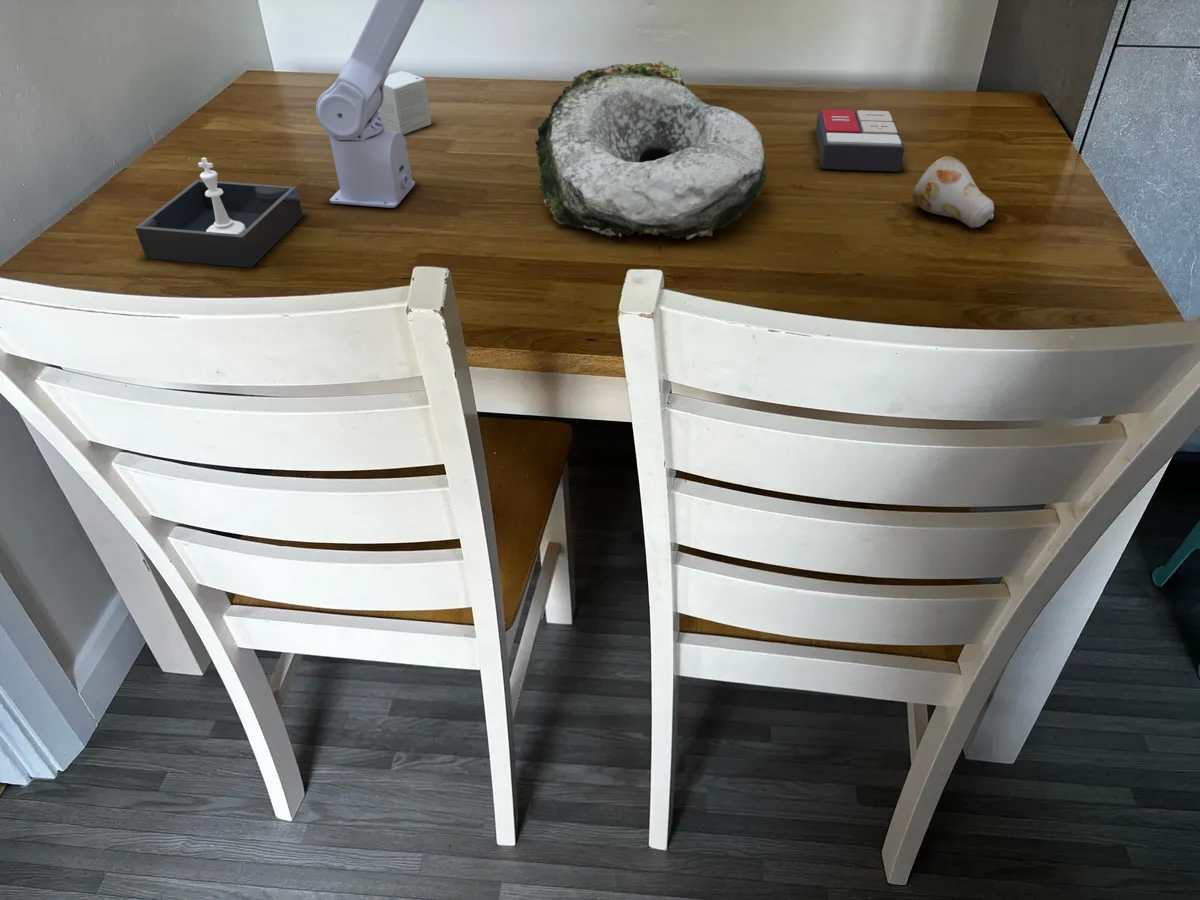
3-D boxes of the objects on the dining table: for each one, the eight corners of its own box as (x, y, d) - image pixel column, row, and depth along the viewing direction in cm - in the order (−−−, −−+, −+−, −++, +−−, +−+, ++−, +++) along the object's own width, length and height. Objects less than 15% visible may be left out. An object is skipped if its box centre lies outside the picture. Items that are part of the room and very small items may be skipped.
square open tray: (303, 216, 120) (296, 186, 117) (251, 268, 109) (242, 237, 107) (206, 208, 122) (196, 179, 120) (146, 258, 112) (134, 227, 109)
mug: (975, 243, 112) (950, 168, 108) (918, 245, 120) (893, 176, 117) (1016, 213, 114) (992, 138, 110) (957, 217, 122) (933, 149, 119)
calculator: (892, 108, 137) (906, 141, 125) (887, 137, 139) (900, 172, 127) (818, 106, 138) (825, 138, 126) (814, 134, 140) (821, 169, 128)
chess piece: (234, 244, 113) (211, 167, 107) (199, 241, 114) (173, 165, 108) (253, 227, 117) (232, 151, 111) (219, 224, 118) (195, 149, 111)
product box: (409, 116, 148) (402, 69, 143) (432, 125, 144) (426, 78, 139) (378, 126, 144) (370, 79, 139) (401, 136, 141) (393, 88, 136)
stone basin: (641, 88, 134) (665, -2, 121) (781, 221, 127) (823, 140, 114) (484, 164, 122) (493, 73, 108) (629, 316, 114) (657, 238, 101)
